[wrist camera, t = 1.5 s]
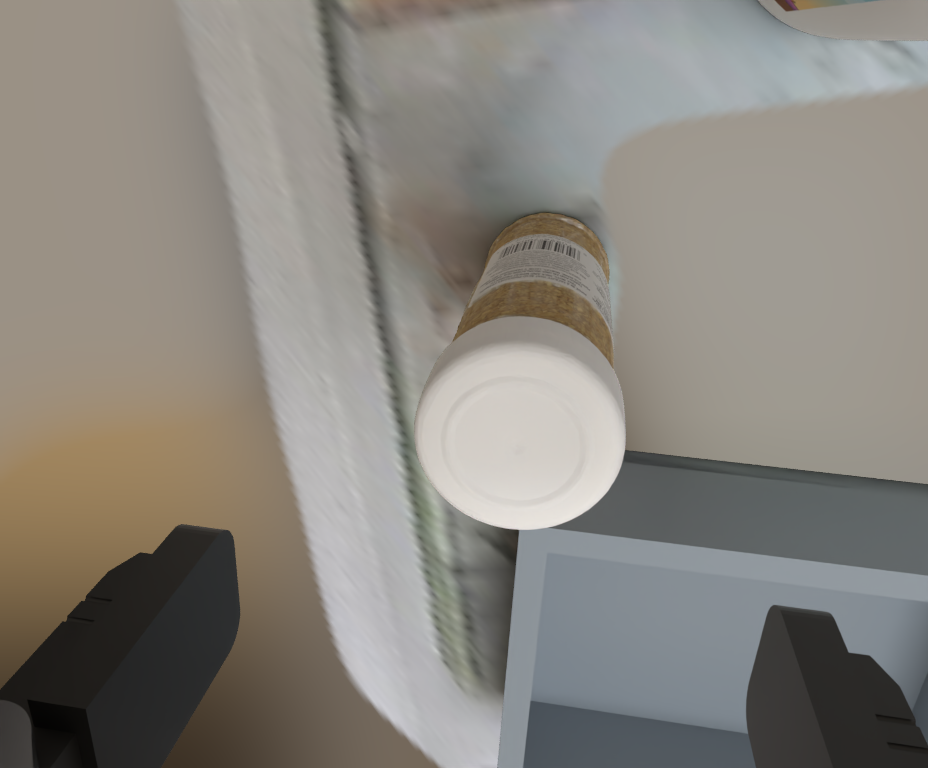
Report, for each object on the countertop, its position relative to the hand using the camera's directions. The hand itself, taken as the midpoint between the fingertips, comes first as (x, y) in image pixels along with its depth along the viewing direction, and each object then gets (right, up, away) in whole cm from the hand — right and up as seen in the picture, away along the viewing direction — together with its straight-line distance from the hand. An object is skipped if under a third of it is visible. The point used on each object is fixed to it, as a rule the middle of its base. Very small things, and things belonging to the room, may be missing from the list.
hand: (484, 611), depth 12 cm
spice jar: (+3, +8, +17) cm, 19 cm away
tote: (+11, -6, +21) cm, 25 cm away
